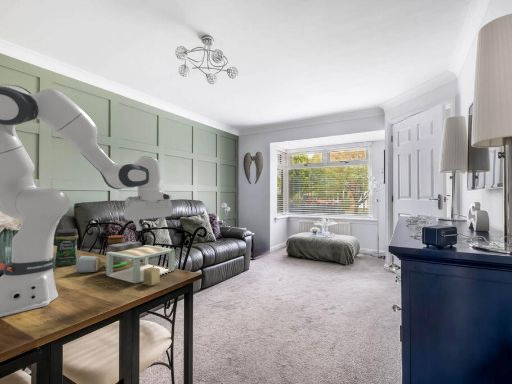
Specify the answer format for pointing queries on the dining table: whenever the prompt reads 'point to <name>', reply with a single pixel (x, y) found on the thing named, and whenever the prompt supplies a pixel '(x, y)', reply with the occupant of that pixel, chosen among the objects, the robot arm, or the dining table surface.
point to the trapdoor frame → (138, 265)
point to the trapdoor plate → (132, 249)
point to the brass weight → (151, 276)
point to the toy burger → (118, 260)
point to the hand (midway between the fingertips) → (149, 229)
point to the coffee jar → (66, 247)
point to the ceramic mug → (88, 264)
